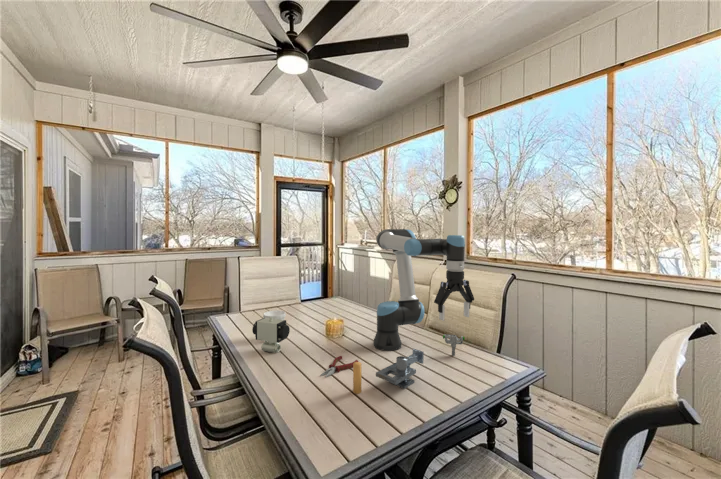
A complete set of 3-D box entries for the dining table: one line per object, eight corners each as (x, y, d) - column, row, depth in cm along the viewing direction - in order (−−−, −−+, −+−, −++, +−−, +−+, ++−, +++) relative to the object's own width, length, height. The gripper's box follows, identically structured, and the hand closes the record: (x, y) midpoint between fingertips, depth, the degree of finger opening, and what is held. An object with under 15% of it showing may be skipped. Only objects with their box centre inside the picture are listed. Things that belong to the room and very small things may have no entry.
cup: (258, 341, 174) (258, 314, 174) (272, 334, 186) (272, 309, 185) (276, 344, 170) (276, 317, 169) (290, 337, 181) (290, 311, 181)
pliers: (312, 375, 135) (312, 369, 135) (340, 359, 152) (340, 354, 152) (333, 382, 129) (333, 376, 129) (359, 365, 146) (359, 359, 146)
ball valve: (291, 350, 162) (291, 316, 161) (282, 356, 154) (282, 321, 153) (262, 346, 168) (262, 313, 167) (252, 351, 160) (251, 317, 159)
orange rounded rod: (351, 391, 121) (351, 363, 120) (357, 388, 123) (357, 361, 123) (357, 394, 119) (357, 366, 118) (363, 391, 121) (363, 363, 121)
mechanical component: (464, 357, 154) (464, 337, 154) (443, 355, 156) (443, 335, 156) (463, 355, 157) (463, 335, 157) (442, 353, 159) (442, 334, 159)
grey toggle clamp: (375, 387, 124) (375, 362, 124) (409, 369, 141) (409, 347, 140) (395, 396, 117) (396, 370, 117) (428, 376, 134) (428, 353, 134)
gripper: (437, 272, 128) (436, 323, 129) (483, 270, 138) (482, 317, 139) (426, 270, 135) (425, 318, 136) (471, 267, 145) (470, 313, 146)
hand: (454, 318), depth 137 cm, fingers open, 13 cm apart
